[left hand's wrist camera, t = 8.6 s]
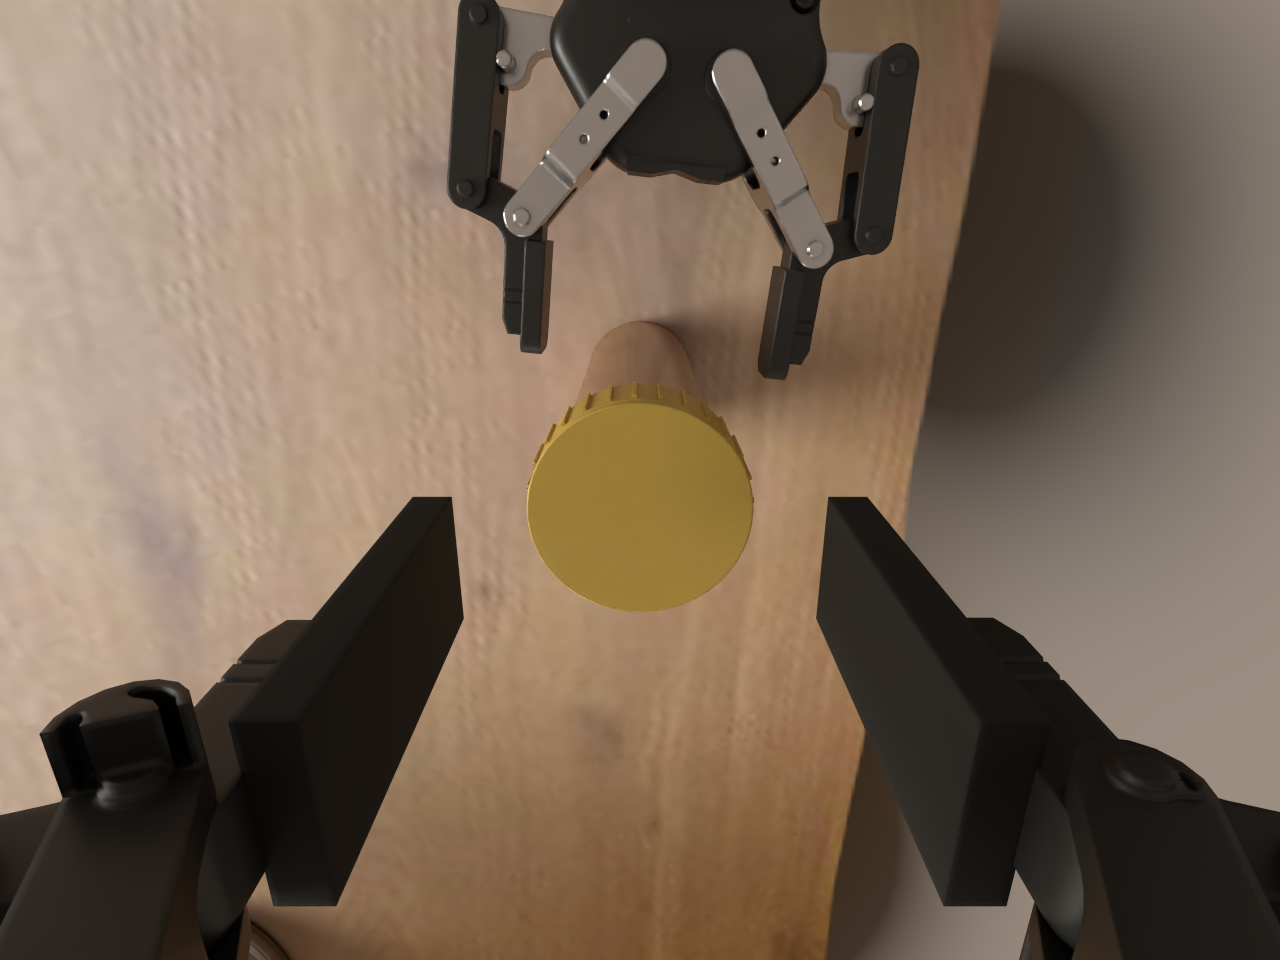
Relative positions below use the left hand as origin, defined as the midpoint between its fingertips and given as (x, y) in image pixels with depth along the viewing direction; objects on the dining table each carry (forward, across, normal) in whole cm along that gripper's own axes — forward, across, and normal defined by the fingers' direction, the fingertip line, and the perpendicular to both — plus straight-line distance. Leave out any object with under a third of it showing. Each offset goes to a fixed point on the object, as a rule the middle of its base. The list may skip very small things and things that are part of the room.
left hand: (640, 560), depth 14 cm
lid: (+3, 0, 0) cm, 3 cm away
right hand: (+12, 0, +2) cm, 13 cm away
